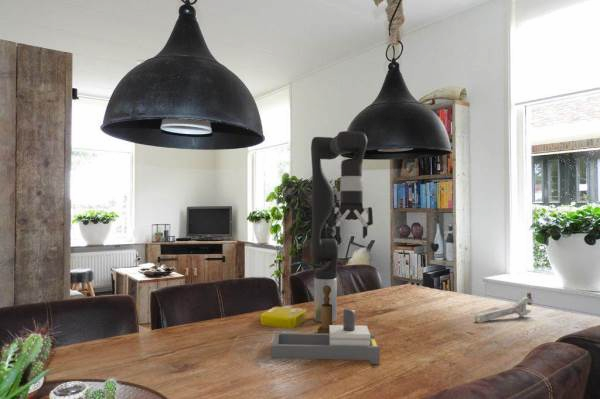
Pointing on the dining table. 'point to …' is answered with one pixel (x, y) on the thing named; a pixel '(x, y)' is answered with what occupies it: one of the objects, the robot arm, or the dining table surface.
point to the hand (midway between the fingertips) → (351, 237)
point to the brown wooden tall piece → (326, 312)
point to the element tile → (283, 317)
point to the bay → (321, 348)
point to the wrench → (506, 311)
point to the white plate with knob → (349, 332)
